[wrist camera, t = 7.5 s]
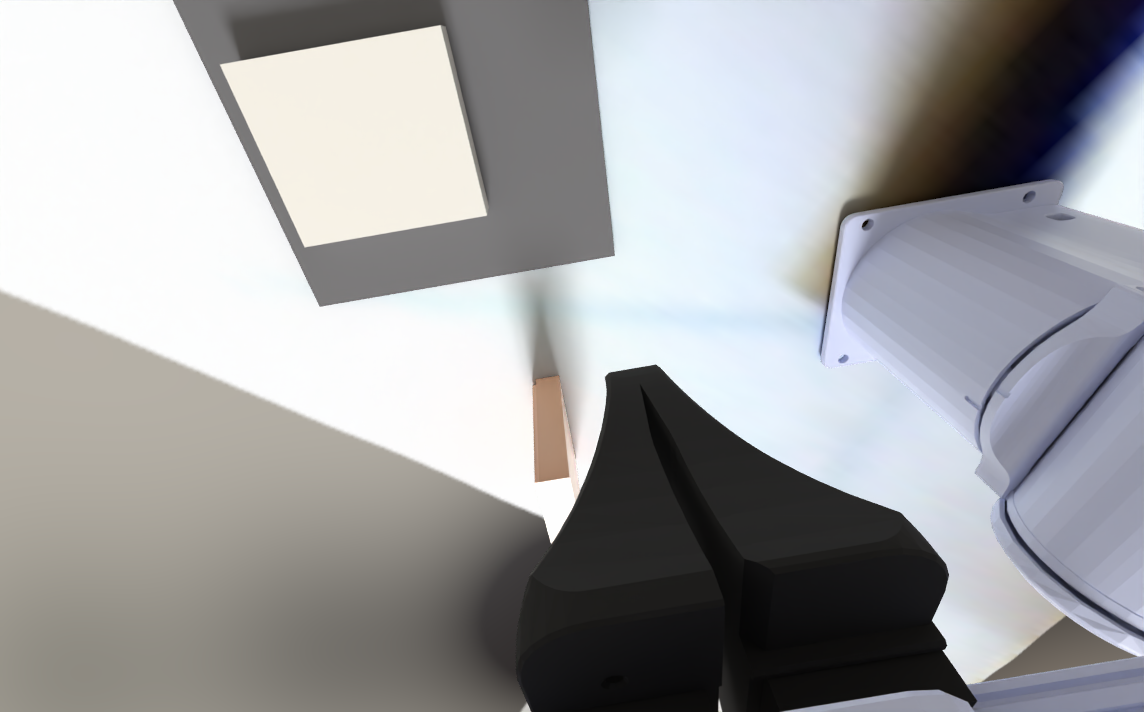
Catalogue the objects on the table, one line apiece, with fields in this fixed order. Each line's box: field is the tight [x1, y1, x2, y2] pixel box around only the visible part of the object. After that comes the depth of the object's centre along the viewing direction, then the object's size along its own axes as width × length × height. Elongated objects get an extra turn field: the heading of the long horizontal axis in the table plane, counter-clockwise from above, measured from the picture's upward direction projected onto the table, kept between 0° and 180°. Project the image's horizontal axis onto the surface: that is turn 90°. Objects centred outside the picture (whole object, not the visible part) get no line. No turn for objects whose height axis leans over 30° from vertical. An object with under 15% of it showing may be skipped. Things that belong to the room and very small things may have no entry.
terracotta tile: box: [533, 375, 580, 544], centre depth 23 cm, size 1×6×7 cm, turn 9°
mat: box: [173, 0, 615, 307], centre depth 18 cm, size 13×12×1 cm
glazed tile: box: [220, 25, 489, 247], centre depth 17 cm, size 1×6×7 cm
